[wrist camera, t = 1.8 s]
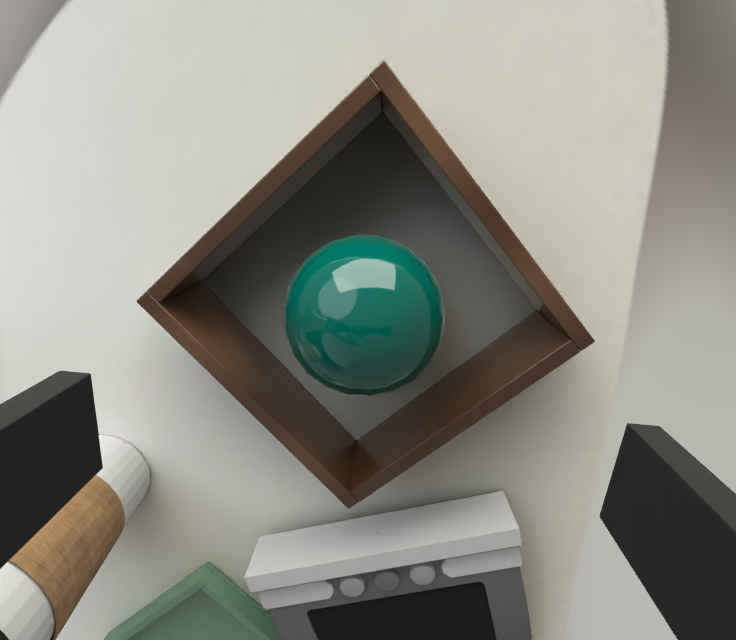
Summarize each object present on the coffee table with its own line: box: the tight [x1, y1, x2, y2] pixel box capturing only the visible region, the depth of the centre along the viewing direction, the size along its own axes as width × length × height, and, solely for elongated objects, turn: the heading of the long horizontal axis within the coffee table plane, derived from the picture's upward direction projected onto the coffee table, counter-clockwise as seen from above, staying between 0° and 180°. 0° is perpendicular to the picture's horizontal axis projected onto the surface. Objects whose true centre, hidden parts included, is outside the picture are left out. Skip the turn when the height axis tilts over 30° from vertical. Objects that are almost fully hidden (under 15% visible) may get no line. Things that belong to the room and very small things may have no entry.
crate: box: [137, 60, 595, 508], centre depth 23 cm, size 16×16×5 cm
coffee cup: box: [0, 435, 151, 640], centre depth 23 cm, size 8×8×15 cm
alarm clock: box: [244, 491, 533, 640], centre depth 30 cm, size 17×5×16 cm
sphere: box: [284, 234, 446, 396], centre depth 21 cm, size 8×8×8 cm
